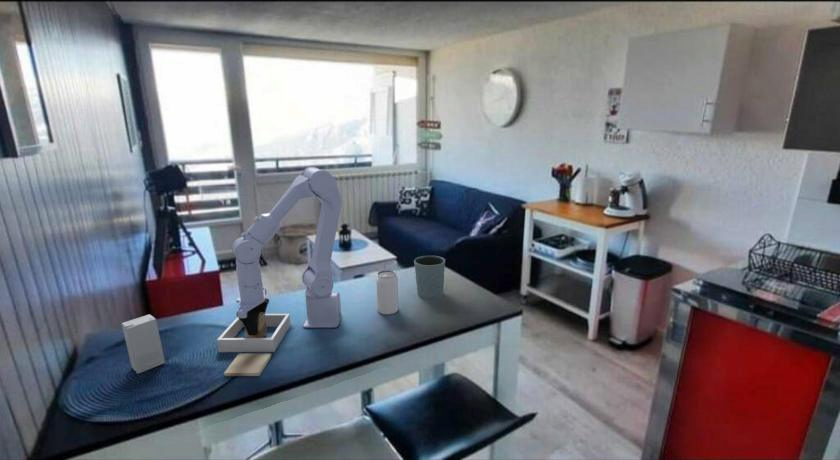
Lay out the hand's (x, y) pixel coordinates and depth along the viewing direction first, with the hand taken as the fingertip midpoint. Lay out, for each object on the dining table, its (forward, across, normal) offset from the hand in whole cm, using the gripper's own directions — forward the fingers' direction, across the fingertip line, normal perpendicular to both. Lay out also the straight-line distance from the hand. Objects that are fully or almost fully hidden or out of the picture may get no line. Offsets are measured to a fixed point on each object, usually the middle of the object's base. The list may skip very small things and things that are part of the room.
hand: (256, 330), depth 111 cm
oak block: (+2, 0, 0) cm, 2 cm away
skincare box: (+2, +13, -21) cm, 25 cm away
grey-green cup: (+3, -28, +47) cm, 55 cm away
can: (+3, -16, +34) cm, 38 cm away
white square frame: (+2, 0, 0) cm, 2 cm away
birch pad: (+2, +13, +3) cm, 14 cm away
